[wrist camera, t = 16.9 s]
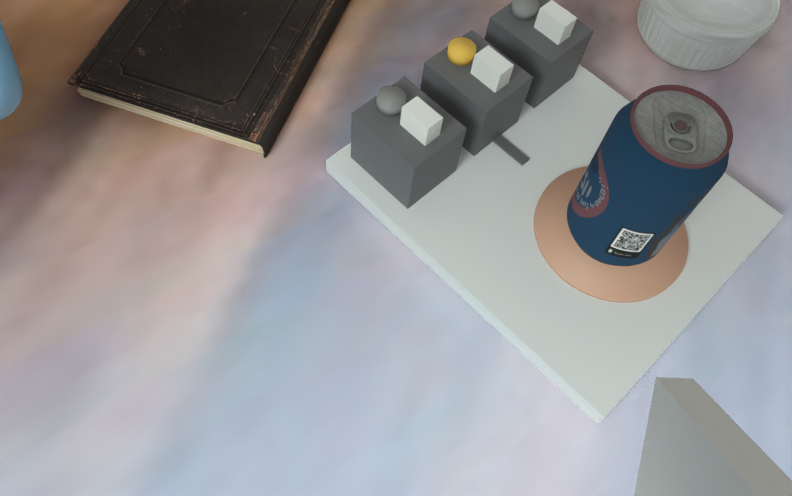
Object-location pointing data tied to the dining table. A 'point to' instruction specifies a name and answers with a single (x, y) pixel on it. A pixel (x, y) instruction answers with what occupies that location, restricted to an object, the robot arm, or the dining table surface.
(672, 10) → the ramekin
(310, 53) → the hardcover book
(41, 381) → the dining table surface
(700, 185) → the soda can
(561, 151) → the breaker board
